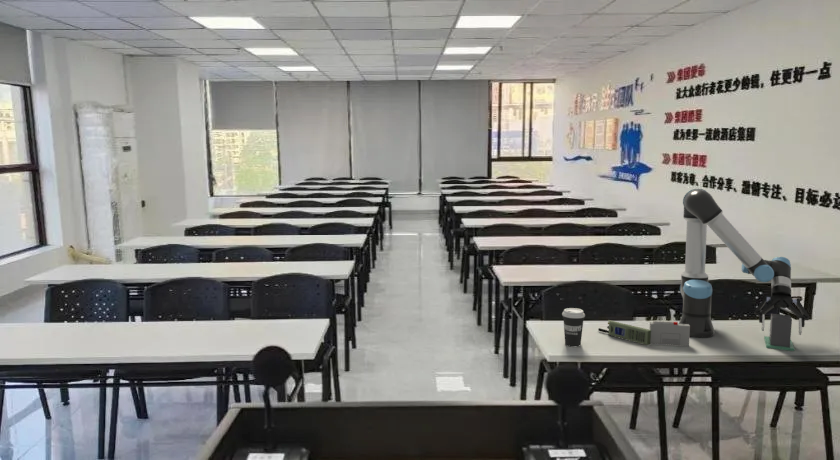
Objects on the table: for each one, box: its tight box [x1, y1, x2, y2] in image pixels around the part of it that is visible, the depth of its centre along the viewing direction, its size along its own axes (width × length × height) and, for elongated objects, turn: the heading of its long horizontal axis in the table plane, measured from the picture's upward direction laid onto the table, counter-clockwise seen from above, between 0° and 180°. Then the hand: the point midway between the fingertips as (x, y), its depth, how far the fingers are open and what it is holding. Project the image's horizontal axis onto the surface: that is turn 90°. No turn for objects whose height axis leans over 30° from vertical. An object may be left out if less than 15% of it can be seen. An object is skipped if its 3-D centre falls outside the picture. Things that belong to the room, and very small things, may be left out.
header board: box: [763, 335, 795, 352], centre depth 255 cm, size 10×14×4 cm
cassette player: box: [649, 320, 691, 347], centre depth 256 cm, size 16×3×10 cm, turn 77°
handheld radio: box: [597, 319, 651, 346], centre depth 266 cm, size 7×3×25 cm
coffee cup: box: [561, 307, 586, 347], centre depth 257 cm, size 10×10×15 cm
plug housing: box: [768, 313, 793, 347], centre depth 252 cm, size 7×7×12 cm
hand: (781, 331), depth 254 cm, fingers open, 13 cm apart
